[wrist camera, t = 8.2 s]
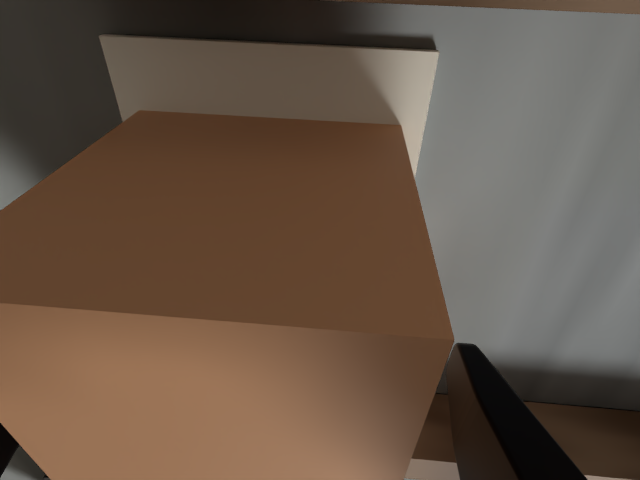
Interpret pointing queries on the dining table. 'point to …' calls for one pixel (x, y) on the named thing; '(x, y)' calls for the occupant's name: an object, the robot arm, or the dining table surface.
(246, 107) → the bay
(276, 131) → the block
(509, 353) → the dining table surface
